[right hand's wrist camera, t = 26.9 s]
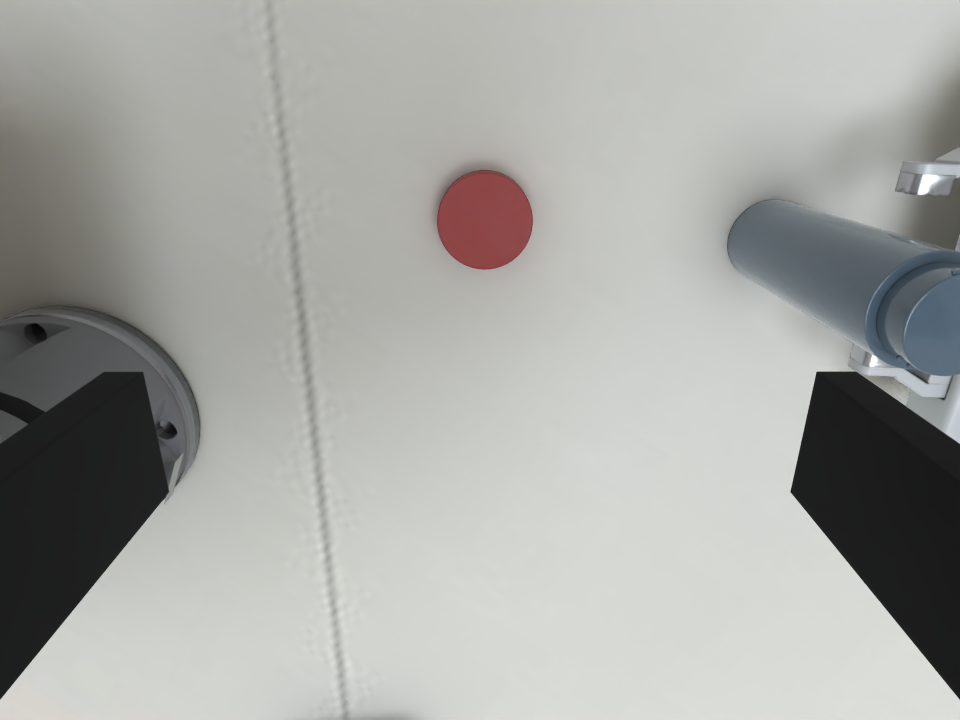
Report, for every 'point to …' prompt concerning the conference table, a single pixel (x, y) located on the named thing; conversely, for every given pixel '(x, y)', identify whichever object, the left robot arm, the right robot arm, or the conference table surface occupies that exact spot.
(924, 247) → the blue-grey tall cylinder
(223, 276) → the conference table surface
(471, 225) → the lid
